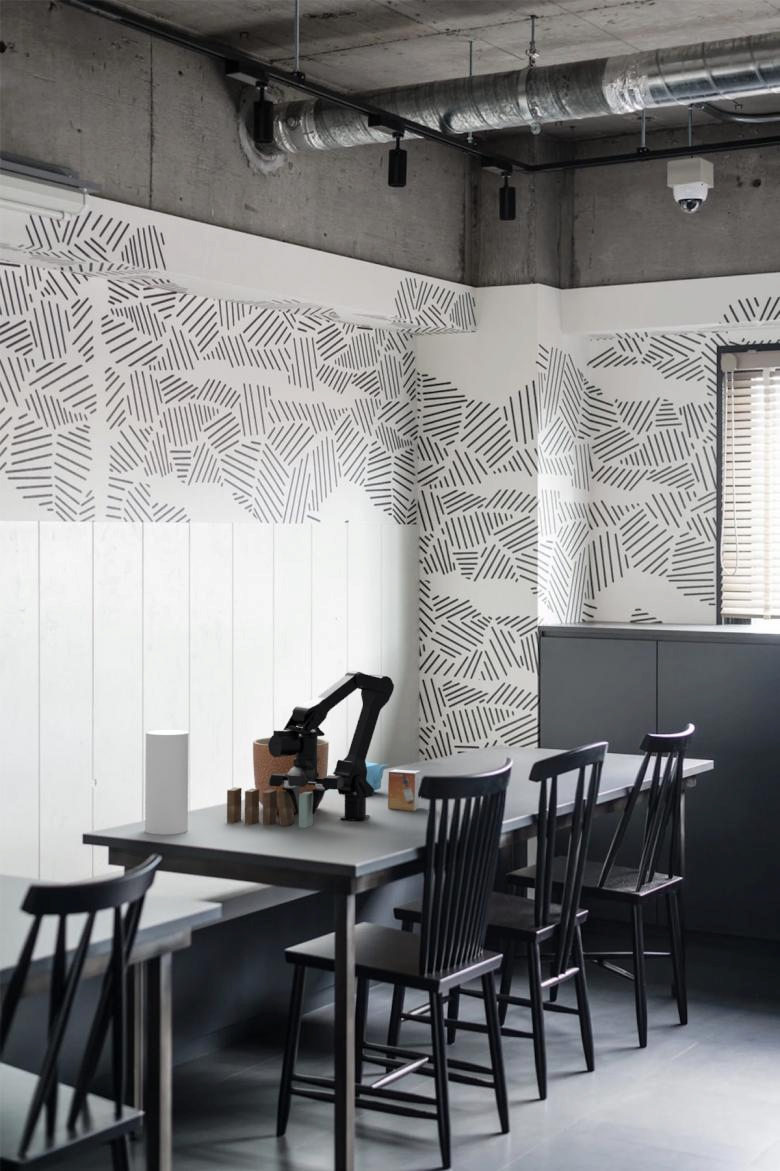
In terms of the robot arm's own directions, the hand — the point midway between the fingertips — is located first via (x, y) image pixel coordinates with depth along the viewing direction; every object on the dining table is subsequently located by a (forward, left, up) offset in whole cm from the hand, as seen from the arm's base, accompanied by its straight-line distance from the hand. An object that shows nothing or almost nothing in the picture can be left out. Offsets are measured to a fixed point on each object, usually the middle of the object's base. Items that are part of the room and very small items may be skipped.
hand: (305, 814), depth 371 cm
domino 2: (0, -15, -3) cm, 15 cm away
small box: (-34, +17, -3) cm, 38 cm away
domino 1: (0, -20, -3) cm, 20 cm away
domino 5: (0, 0, -3) cm, 3 cm away
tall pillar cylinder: (+18, -31, -3) cm, 36 cm away
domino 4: (0, -5, -3) cm, 6 cm away
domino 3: (0, -10, -3) cm, 10 cm away
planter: (-21, -12, -3) cm, 24 cm away
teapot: (-56, -2, -3) cm, 56 cm away
